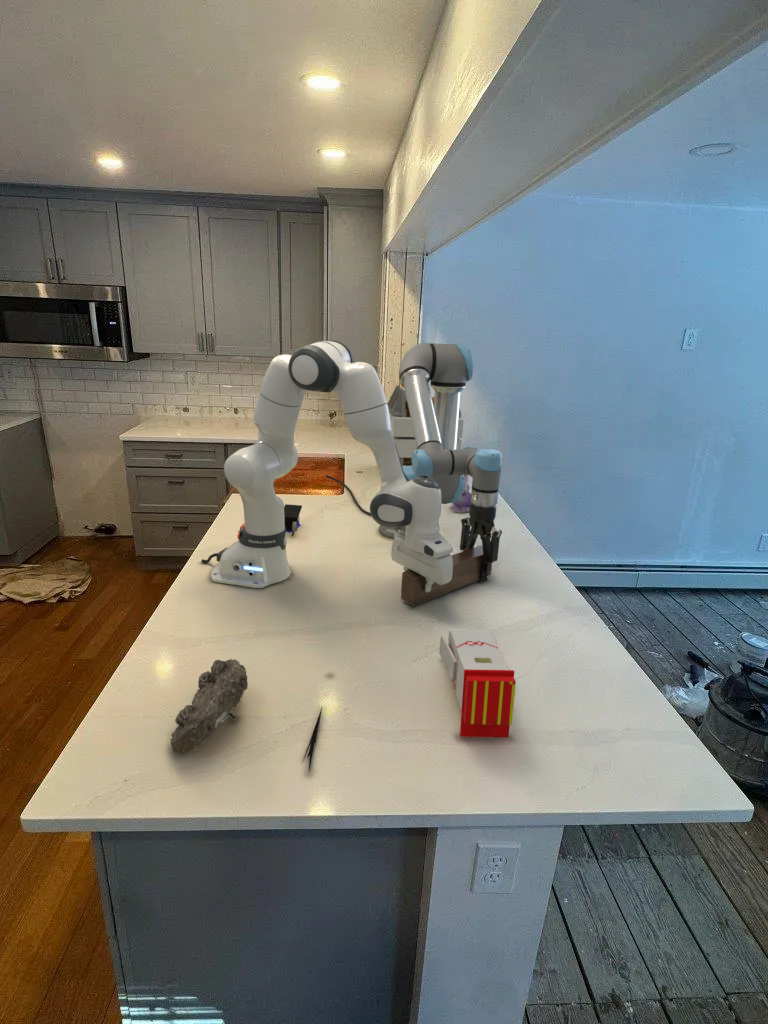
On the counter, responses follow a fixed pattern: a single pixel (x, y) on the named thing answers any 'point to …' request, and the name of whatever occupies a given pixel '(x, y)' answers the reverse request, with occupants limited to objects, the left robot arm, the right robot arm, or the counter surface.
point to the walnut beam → (463, 574)
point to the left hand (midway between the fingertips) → (418, 586)
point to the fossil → (210, 704)
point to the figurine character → (291, 517)
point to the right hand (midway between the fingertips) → (475, 577)
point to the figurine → (463, 499)
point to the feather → (313, 740)
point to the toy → (479, 682)
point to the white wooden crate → (408, 426)
